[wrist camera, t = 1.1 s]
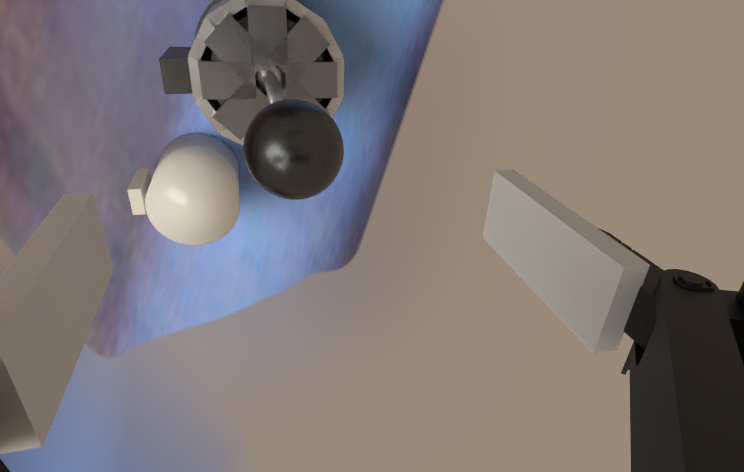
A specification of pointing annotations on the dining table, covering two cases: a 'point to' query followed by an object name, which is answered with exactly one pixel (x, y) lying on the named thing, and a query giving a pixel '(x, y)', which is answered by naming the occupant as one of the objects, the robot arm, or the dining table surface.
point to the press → (254, 61)
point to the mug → (190, 190)
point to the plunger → (290, 139)
